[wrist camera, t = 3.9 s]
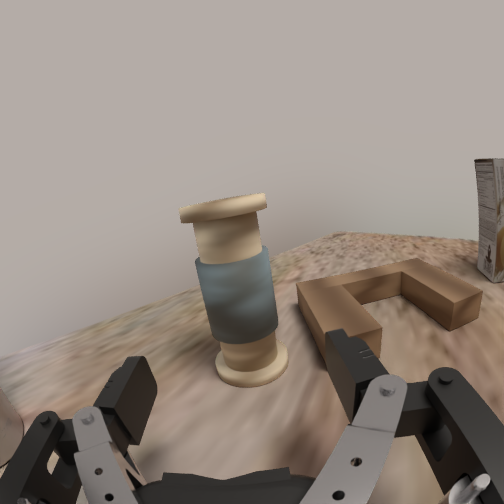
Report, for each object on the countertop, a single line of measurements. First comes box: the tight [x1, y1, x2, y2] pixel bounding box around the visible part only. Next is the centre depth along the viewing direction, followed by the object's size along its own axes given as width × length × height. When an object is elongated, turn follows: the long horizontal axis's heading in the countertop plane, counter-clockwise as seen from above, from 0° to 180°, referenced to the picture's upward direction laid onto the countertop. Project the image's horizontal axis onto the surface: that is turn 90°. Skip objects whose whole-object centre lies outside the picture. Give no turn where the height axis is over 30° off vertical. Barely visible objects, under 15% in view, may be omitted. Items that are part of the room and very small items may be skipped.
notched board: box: [296, 258, 483, 363], centre depth 25 cm, size 17×13×3 cm
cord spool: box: [179, 193, 288, 387], centre depth 21 cm, size 6×6×14 cm
